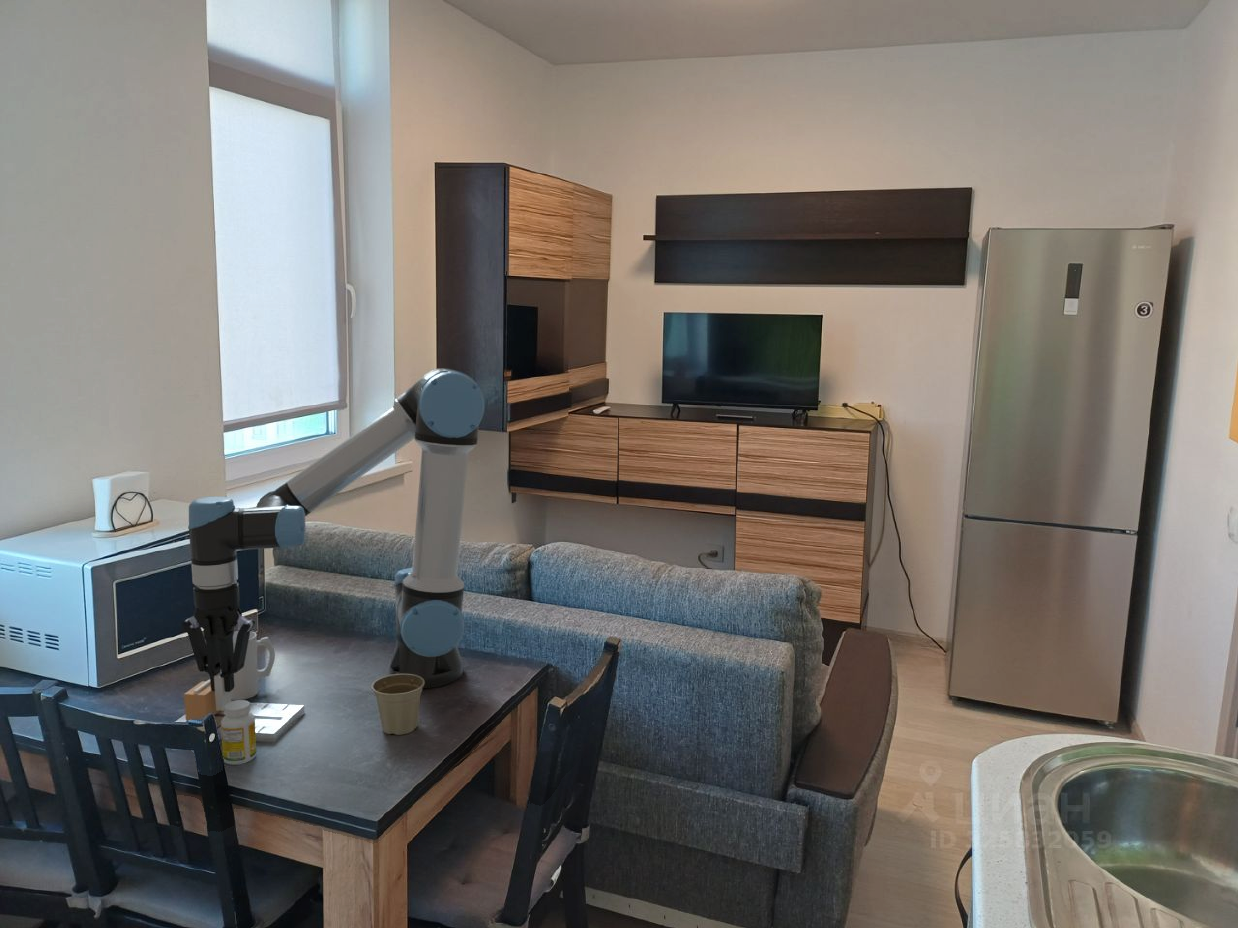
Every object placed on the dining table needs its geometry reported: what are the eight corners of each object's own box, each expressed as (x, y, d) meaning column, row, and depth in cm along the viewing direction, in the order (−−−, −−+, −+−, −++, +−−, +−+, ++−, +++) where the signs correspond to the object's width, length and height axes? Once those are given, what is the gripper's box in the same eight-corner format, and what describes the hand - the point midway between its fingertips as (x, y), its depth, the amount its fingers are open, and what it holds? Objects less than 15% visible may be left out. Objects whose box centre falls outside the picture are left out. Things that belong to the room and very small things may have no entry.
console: (304, 713, 173) (304, 704, 173) (274, 742, 161) (273, 733, 161) (204, 707, 175) (204, 699, 175) (167, 736, 163) (166, 727, 163)
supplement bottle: (232, 768, 152) (229, 714, 150) (217, 758, 155) (213, 705, 154) (263, 757, 156) (259, 703, 154) (247, 747, 159) (244, 695, 158)
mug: (225, 703, 177) (221, 644, 175) (220, 691, 183) (216, 634, 181) (280, 693, 182) (276, 635, 180) (273, 681, 188) (270, 625, 186)
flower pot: (399, 744, 161) (397, 698, 159) (361, 731, 166) (360, 686, 164) (436, 724, 168) (435, 680, 167) (399, 712, 173) (398, 669, 172)
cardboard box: (224, 707, 171) (222, 679, 170) (206, 721, 165) (204, 691, 164) (203, 706, 172) (201, 678, 171) (185, 720, 166) (183, 690, 165)
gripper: (260, 578, 167) (267, 700, 171) (193, 576, 168) (201, 697, 172) (239, 590, 160) (247, 717, 163) (169, 588, 161) (178, 714, 165)
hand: (223, 707), depth 168 cm, fingers closed
